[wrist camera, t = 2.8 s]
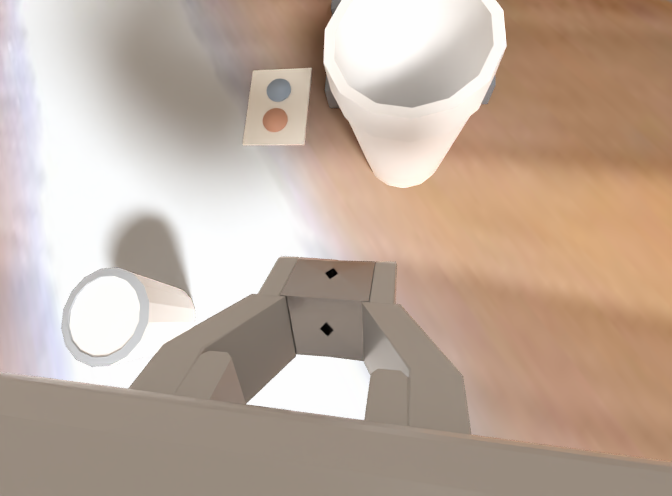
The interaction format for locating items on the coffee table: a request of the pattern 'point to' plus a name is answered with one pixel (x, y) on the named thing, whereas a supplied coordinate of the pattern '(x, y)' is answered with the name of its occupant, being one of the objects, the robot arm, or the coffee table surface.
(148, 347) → the shot glass
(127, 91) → the coffee table surface
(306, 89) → the card
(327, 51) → the foam cup
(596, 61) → the coffee table surface
